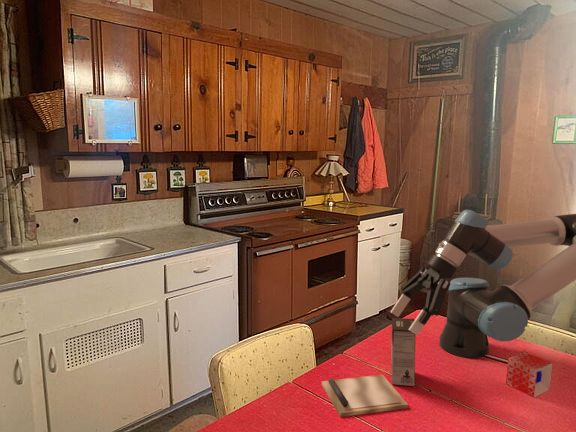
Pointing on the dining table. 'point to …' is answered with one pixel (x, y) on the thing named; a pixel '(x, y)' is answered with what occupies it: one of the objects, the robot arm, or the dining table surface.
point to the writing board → (363, 395)
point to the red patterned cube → (529, 373)
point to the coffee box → (403, 352)
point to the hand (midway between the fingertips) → (403, 323)
